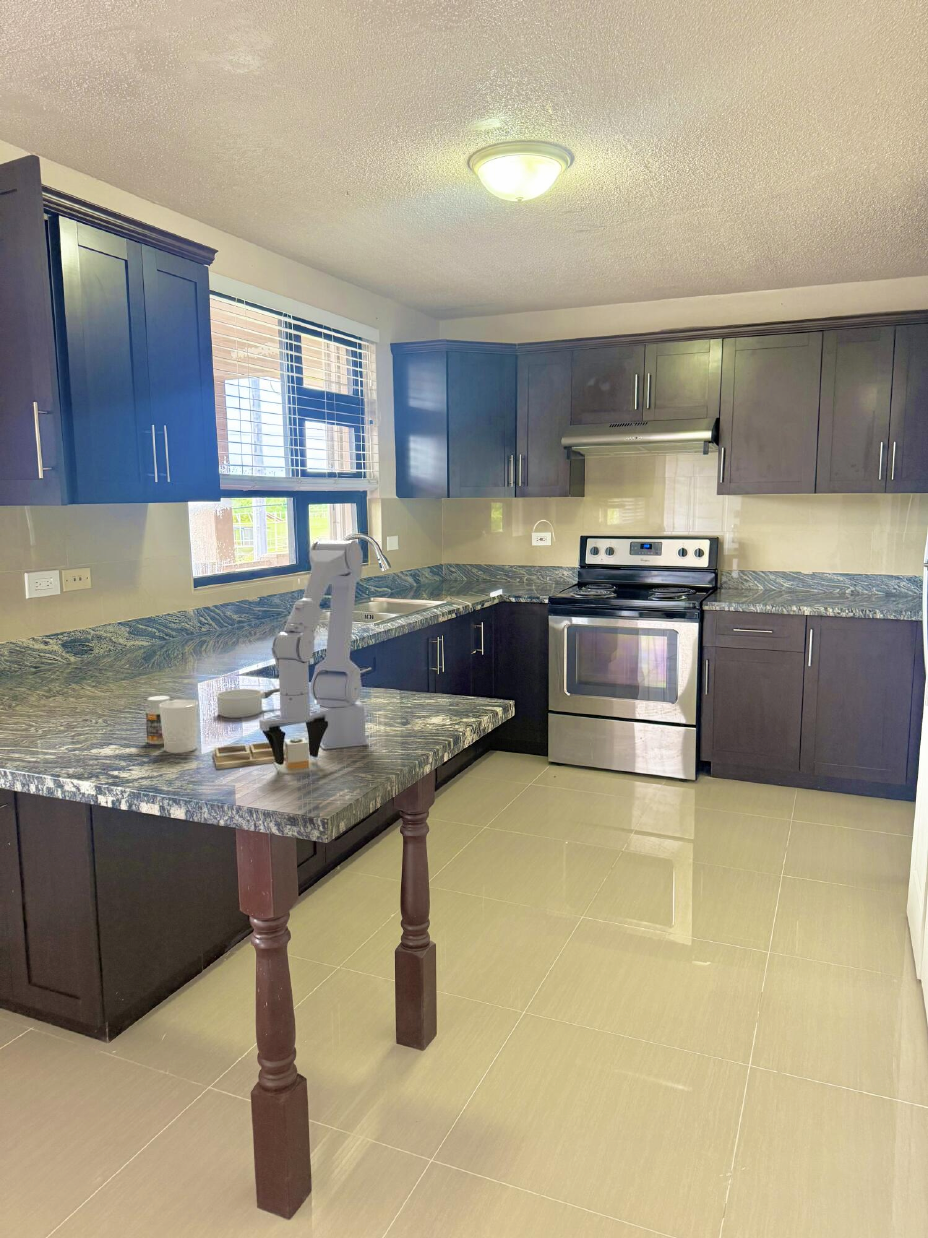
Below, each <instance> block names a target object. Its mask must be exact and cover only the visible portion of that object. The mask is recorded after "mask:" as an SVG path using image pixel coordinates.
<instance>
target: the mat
mask: <svg viewBox="0 0 928 1238" xmlns="http://www.w3.org/2000/svg"><path fill="white" fill-rule="evenodd" d="M273 766H274V767H275V769H276V770H277V773H278V775H279V776H285V775H286V776H287V775H294V774H300V773H310V772H317V771H318V772H319V771H322V768H321V767H320V765H319V764H318V763H317V761H316V759H315V757H311V758H309V767H307V768H298V769H289V770H288V768H287V766H286V764H285V761H284V764H282V765H279V764H277V763H276V762H273Z"/></svg>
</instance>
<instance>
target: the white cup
mask: <svg viewBox="0 0 928 1238" xmlns="http://www.w3.org/2000/svg"><path fill="white" fill-rule="evenodd" d="M159 708H160V718H161V727H162V735H163V739H164V744H163V748H164V751H165V752H167V753H171V754H182V753H188V752H192V751H195V750H196V749H197V748H198V736H199V701H197V700H194V699H175V700H174V699H173V700H170V701H167V702H164V703H161V704H160V705H159Z"/></svg>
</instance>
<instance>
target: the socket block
mask: <svg viewBox="0 0 928 1238" xmlns="http://www.w3.org/2000/svg"><path fill="white" fill-rule="evenodd" d="M248 744H249V745H247V744H246V743H245V744H237V745H234V744H233V745H228V746H217V747H214V750H212V756H213V760H214V764H215V768H216V769H217V770H220V769H230V768H239V767H246V766H254V765H264V764H271V763H274V762H275V758H274V755H273V751H272V749H271V746H270V744H269V742H268V741H266V742H256V743H248ZM284 761H285V747H284Z"/></svg>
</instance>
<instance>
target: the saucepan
mask: <svg viewBox="0 0 928 1238" xmlns="http://www.w3.org/2000/svg"><path fill="white" fill-rule="evenodd" d="M275 693H280V688H279V687H278V688H273V689H270V690H267V691H263V690H260V689H256V688H255V689H254V688H237V689H229V690H223V691H222V690H221V691H219V692H217V693H216V694H215V697H217V701H216V702H217V714H218V715H219V716H221V717H224V718H228V719H229V718H230V719H233V718H234V719H235V718H247V717H253V716H257V715H258V714H259V713H261V712H262V711H263V705H262V703H263V702H262V700H263V699H268V698H269V697H271V696H272V695H273V694H275Z"/></svg>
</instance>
